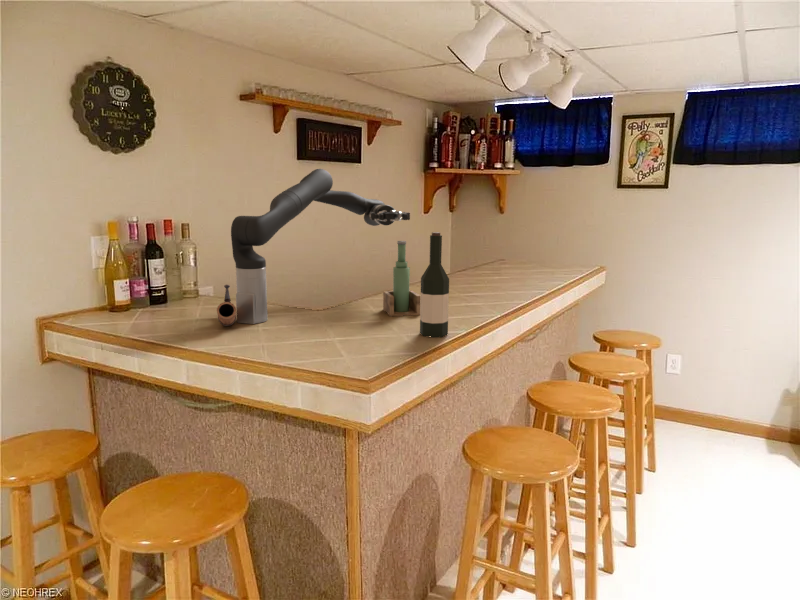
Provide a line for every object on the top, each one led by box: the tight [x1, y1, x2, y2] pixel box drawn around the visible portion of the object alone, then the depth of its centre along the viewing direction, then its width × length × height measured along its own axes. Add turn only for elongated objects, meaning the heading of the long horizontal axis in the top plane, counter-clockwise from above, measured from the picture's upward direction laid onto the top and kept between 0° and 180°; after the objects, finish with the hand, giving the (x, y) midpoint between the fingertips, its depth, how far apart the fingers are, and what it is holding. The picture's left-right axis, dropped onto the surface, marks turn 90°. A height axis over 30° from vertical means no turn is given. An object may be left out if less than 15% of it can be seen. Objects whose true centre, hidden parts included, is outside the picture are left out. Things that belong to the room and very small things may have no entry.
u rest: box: [382, 289, 421, 317], centre depth 204 cm, size 10×10×7 cm
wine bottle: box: [419, 231, 450, 338], centre depth 173 cm, size 8×8×30 cm
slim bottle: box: [392, 240, 411, 312], centre depth 203 cm, size 6×6×24 cm
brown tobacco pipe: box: [216, 284, 237, 327], centre depth 186 cm, size 5×29×10 cm, turn 15°
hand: (394, 217), depth 209 cm, fingers open, 8 cm apart
